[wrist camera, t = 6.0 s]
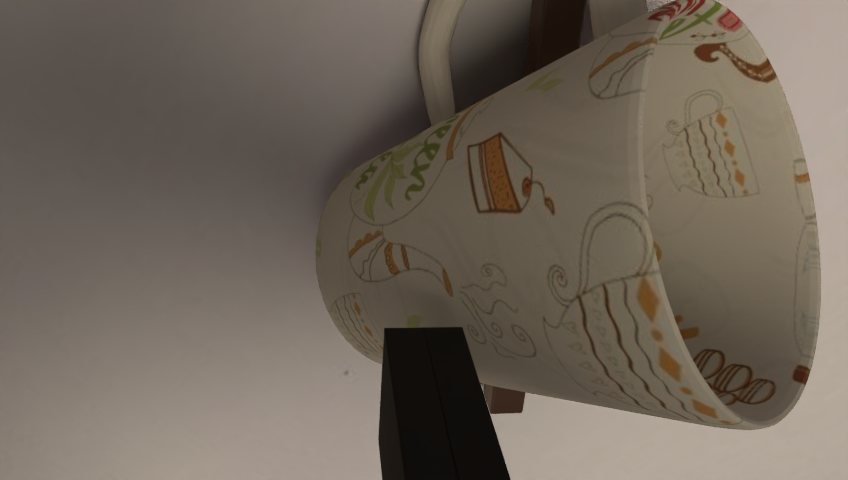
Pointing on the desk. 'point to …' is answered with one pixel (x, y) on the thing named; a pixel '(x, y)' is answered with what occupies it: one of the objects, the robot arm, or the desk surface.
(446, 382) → the robot arm
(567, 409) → the desk surface
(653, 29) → the mug
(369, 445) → the desk surface
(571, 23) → the strip
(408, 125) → the desk surface
